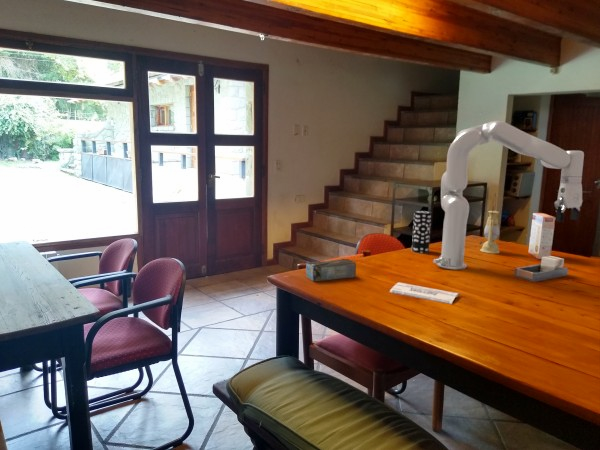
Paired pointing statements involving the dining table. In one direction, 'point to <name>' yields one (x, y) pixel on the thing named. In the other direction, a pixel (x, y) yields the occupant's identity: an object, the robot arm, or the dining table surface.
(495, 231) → the lantern
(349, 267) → the beverage carton
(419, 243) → the white-spotted black cylinder
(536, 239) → the cracker box
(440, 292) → the newspaper
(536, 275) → the grey shallow tray
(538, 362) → the dining table surface
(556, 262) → the block
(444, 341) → the dining table surface
